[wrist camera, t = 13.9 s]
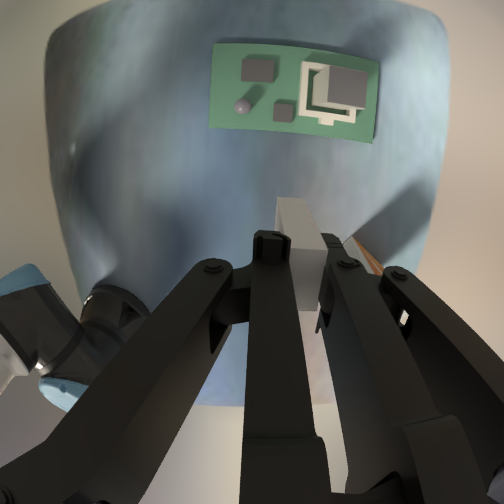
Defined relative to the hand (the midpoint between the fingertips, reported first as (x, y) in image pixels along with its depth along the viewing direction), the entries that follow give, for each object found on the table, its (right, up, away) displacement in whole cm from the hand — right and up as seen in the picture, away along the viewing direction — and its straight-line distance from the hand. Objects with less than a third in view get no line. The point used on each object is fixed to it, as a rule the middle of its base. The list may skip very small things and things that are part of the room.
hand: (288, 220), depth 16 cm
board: (+4, +20, +17) cm, 26 cm away
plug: (+8, +19, +16) cm, 26 cm away
